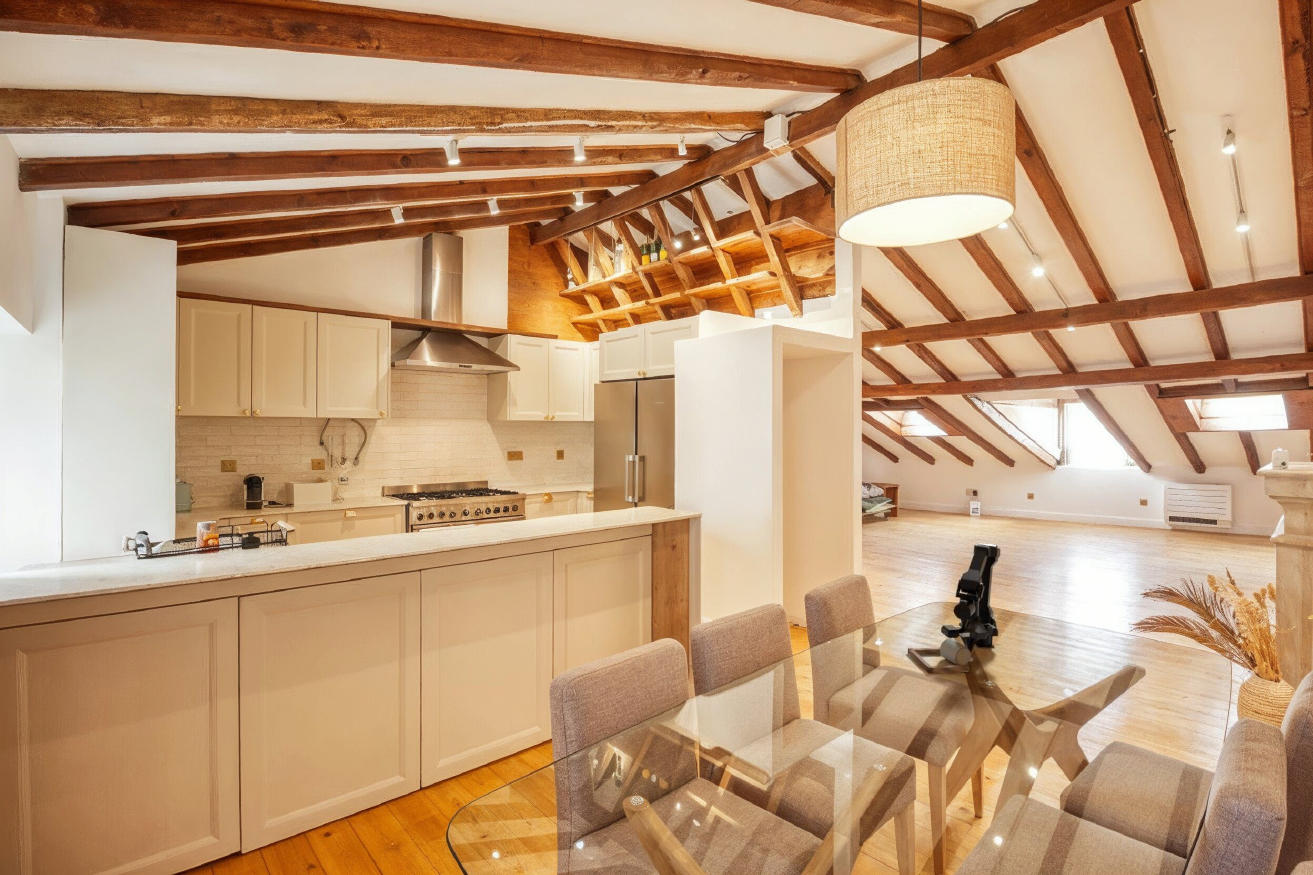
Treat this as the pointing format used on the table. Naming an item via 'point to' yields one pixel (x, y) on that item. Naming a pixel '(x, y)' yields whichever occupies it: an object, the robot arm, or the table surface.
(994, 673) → the table surface
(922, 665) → the walnut corral
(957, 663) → the ceramic mug
